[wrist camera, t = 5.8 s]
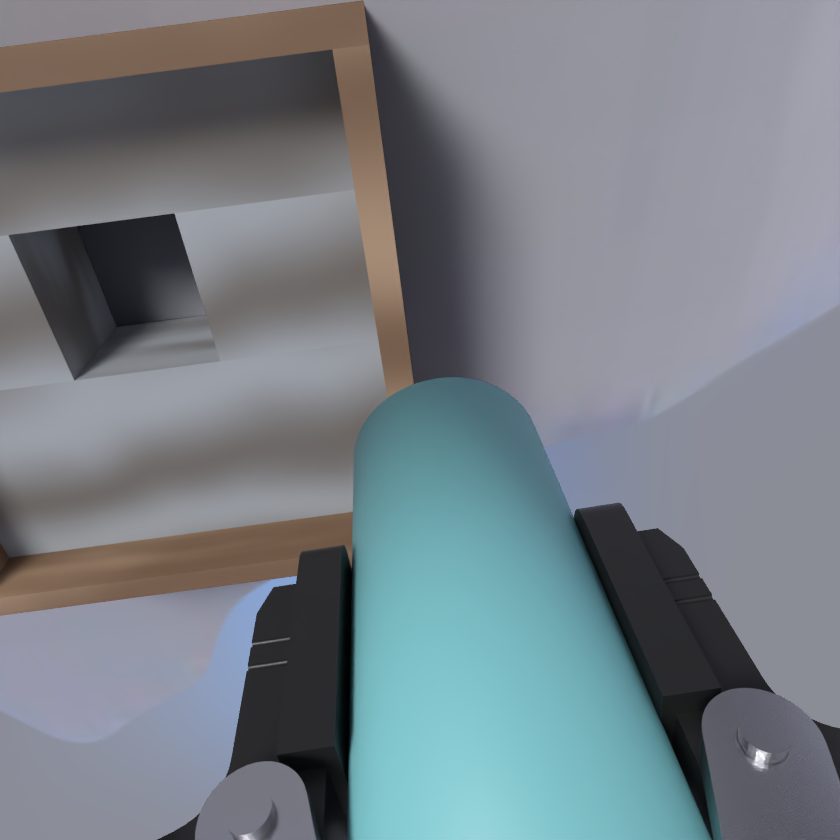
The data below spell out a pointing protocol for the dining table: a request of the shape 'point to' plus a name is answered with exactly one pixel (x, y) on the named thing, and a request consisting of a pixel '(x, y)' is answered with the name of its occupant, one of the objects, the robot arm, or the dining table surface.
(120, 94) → the bore box
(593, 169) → the dining table surface
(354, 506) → the peg
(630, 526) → the robot arm
